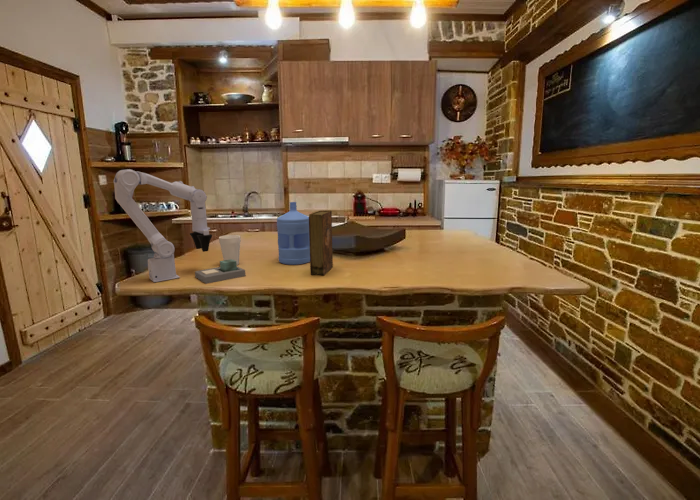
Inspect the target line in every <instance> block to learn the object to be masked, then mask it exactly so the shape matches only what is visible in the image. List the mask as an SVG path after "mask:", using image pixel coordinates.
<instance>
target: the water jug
mask: <svg viewBox="0 0 700 500" xmlns="http://www.w3.org/2000/svg"><path fill="white" fill-rule="evenodd" d="M276 229H277V246H278V249H277V250H278V262H279V263H280V264H283V265H288V266H289V265H290V266H293V265H295V266H296V265H305V264H308V263H310V241H309V215H306V214H304V213H303V212H299V211H298V210H297V201H290V202H289V211H287V212H286V213H284V214H282V215H281V216H278V217H277V218H276Z"/></svg>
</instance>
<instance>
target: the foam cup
mask: <svg viewBox="0 0 700 500" xmlns="http://www.w3.org/2000/svg"><path fill="white" fill-rule="evenodd" d="M241 241H242V240H241V235H240V234H239V235H238V234H227V235H226V234H225V235H220V236H219V237H218V244H219V246H220V251H221V255H222V259H223V260H230V259H232V260H235V261H236V263H237V266H238V265H239V264H240V252H241ZM223 260H222V261H223Z"/></svg>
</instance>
